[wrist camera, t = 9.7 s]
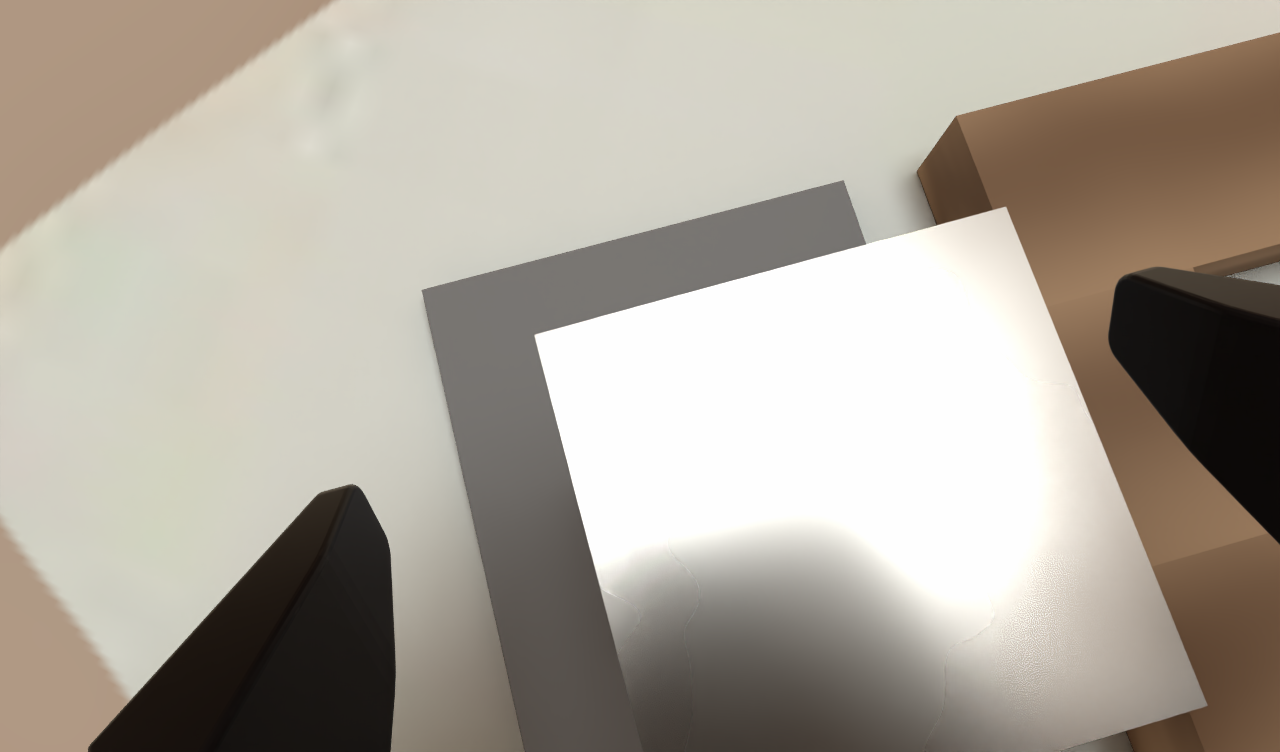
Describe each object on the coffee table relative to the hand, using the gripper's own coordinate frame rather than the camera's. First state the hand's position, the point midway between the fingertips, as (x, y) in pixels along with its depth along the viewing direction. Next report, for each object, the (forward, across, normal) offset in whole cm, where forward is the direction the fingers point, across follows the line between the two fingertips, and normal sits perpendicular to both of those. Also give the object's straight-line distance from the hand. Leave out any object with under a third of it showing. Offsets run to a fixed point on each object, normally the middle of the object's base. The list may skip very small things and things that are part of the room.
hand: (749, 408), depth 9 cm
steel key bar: (+5, 0, +7) cm, 8 cm away
